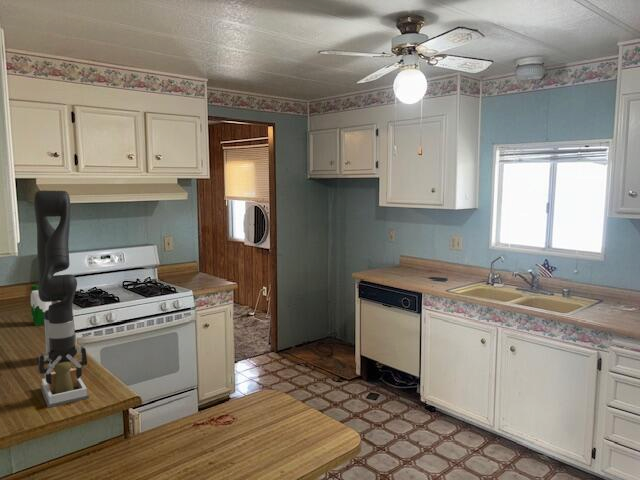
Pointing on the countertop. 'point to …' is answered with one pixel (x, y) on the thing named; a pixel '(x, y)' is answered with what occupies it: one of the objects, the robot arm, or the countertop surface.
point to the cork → (63, 377)
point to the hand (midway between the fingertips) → (64, 380)
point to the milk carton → (38, 306)
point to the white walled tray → (64, 397)
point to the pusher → (73, 377)
